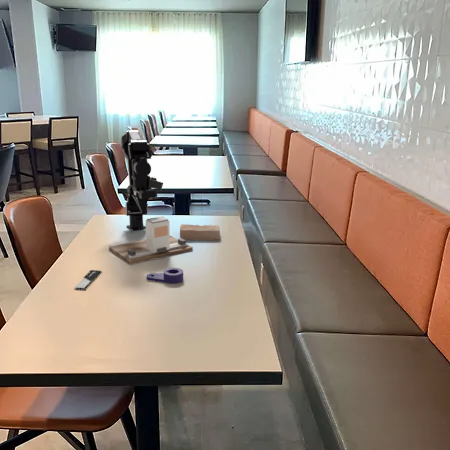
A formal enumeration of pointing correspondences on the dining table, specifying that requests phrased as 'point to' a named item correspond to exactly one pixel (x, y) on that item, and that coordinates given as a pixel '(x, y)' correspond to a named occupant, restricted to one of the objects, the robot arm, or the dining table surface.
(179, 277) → the lever
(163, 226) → the relay module
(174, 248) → the board
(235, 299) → the dining table surface
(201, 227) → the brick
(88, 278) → the computer memory module
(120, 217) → the dining table surface
